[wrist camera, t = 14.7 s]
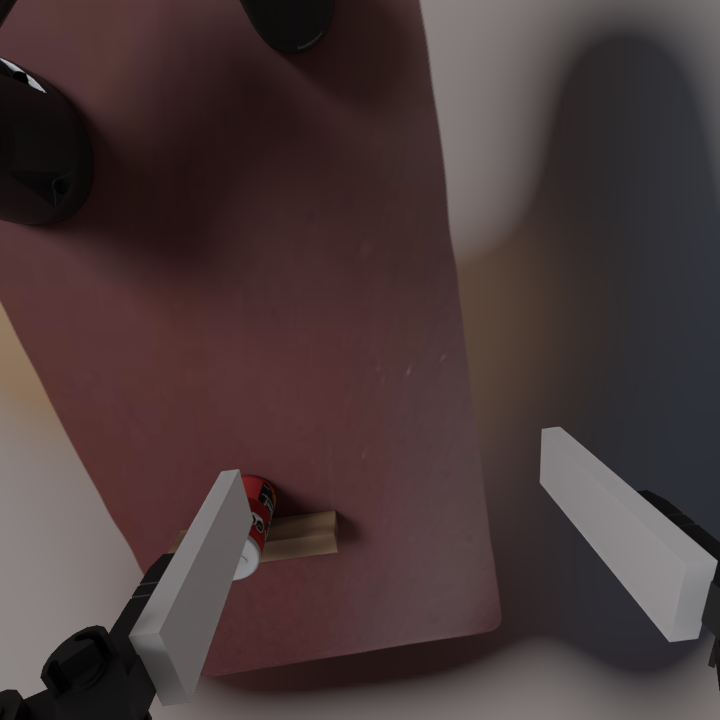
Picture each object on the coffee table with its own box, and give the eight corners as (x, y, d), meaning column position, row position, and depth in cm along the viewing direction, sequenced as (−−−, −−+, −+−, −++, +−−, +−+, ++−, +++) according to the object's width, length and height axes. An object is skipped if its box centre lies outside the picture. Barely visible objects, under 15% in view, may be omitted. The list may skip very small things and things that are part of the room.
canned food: (274, 518, 53) (256, 584, 43) (221, 511, 53) (190, 577, 42) (280, 477, 51) (263, 536, 40) (225, 469, 50) (193, 528, 40)
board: (181, 530, 53) (166, 555, 49) (335, 510, 53) (334, 533, 49) (187, 547, 54) (174, 573, 50) (338, 528, 54) (337, 552, 50)
